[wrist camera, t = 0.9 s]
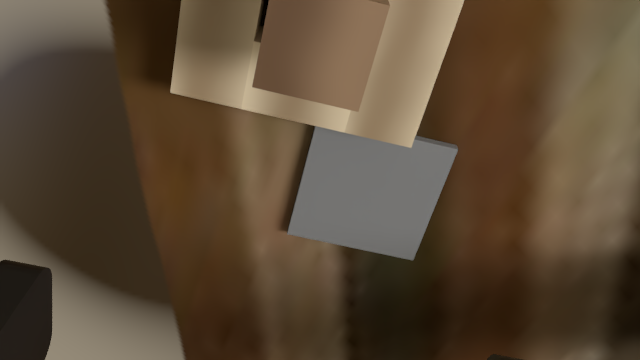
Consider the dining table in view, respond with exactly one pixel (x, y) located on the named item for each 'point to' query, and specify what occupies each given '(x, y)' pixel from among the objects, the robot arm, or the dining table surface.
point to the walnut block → (320, 49)
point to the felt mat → (369, 191)
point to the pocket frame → (371, 121)
